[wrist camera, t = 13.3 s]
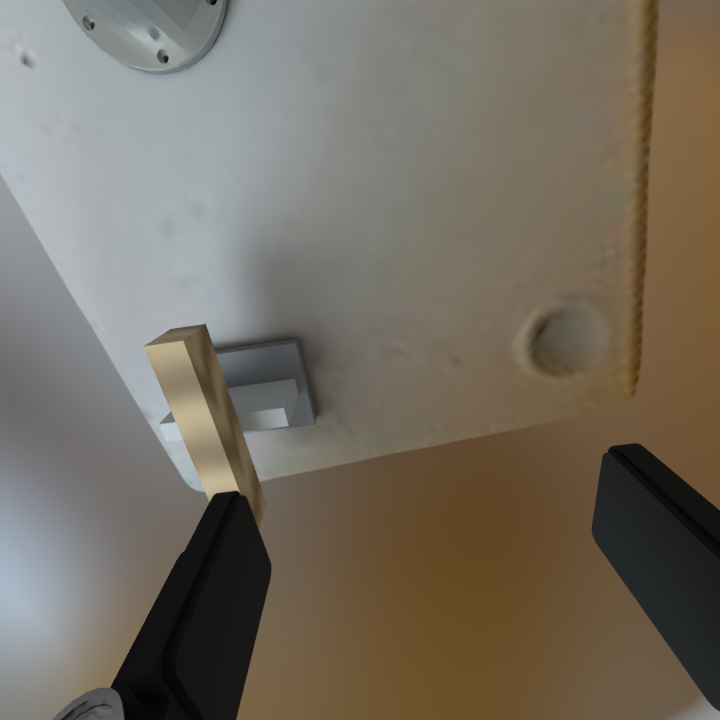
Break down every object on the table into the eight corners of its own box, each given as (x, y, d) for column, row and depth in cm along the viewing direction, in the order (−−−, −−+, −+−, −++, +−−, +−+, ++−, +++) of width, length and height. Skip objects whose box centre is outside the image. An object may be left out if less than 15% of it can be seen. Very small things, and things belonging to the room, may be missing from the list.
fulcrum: (172, 356, 38) (131, 388, 31) (297, 338, 37) (284, 367, 31) (202, 431, 42) (171, 475, 35) (316, 417, 41) (307, 458, 34)
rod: (171, 329, 29) (143, 346, 25) (205, 324, 29) (183, 340, 25) (239, 507, 37) (225, 540, 33) (266, 504, 37) (256, 537, 33)
